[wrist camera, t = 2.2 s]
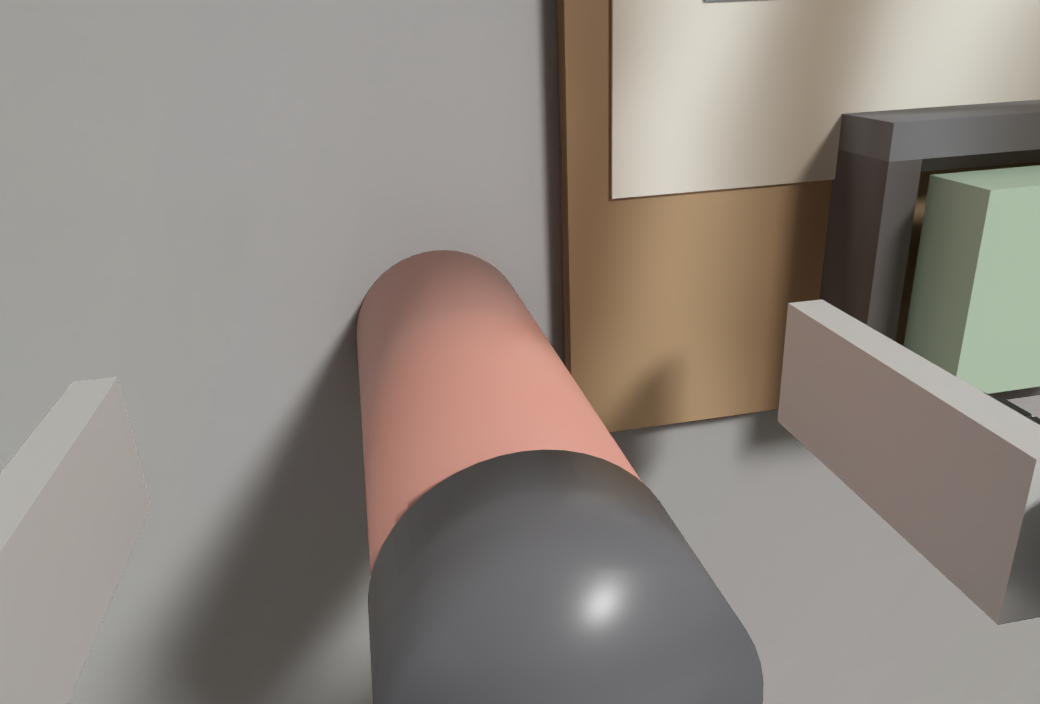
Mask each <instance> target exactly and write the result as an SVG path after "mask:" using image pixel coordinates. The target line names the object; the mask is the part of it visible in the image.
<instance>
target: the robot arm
mask: <svg viewBox="0 0 1040 704" xmlns="http://www.w3.org/2000/svg"><path fill="white" fill-rule="evenodd" d="M778 422H779V423H780V424H781V425H782V426H783V427H784V428H785V429H787V430H788V431H789V432H790V433H791V434H792V435H793V436H794V437H795V438H796V439H797V440H798V441H799V442H801V443H802V444H803V445H804V446H805V447H806V448H807V449H808V450H809V451H810V452H811V453H812V454H814V455H815V456H816V457H817V458H818V459H819V460H820V461H821V462H822V463H823V464H824V465H825V466H827V467H828V468H829V469H830V470H831V471H832V472H833V473H834V474H835V475H836V476H837V477H838V478H840V479H841V480H842V481H843V482H844V483H845V484H846V485H847V486H848V487H849V488H850V489H851V490H853V491H854V492H855V493H856V494H857V495H858V496H859V497H860V498H861V499H862V500H863V501H864V502H866V503H867V504H868V505H869V506H870V507H871V508H872V509H873V510H874V511H875V512H876V513H877V514H879V515H880V516H881V517H882V518H883V519H884V520H885V521H886V522H887V523H888V524H889V525H890V526H891V527H893V528H894V529H895V530H896V531H897V532H898V533H899V534H900V535H901V536H902V537H903V538H904V539H906V540H907V541H908V542H909V543H910V544H911V545H912V546H913V547H914V548H915V549H916V550H917V551H919V552H920V553H921V554H922V555H923V556H924V557H925V558H926V559H927V560H928V561H929V562H930V563H932V564H933V565H934V566H935V567H936V568H937V569H938V570H939V571H940V572H941V573H942V574H943V575H945V576H946V577H947V578H948V579H949V580H950V581H951V582H952V583H953V584H954V585H955V586H956V587H958V588H959V589H960V590H961V591H962V592H963V593H964V594H965V595H966V596H967V597H968V598H969V599H971V600H972V601H973V602H974V603H975V604H976V605H977V606H978V607H979V608H980V609H981V610H982V611H984V612H985V613H986V614H987V615H988V616H989V617H990V618H991V619H992V620H993V621H994V622H995V623H996V624H998V625H1000V624H1005V623H1010V622H1016V621H1021V620H1026V619H1032V618H1037V617H1040V419H1039V418H1037V417H1032V416H1031V414H1030V413H1029V412H1027V411H1025V410H1023V409H1021V408H1020V407H1018V406H1016V405H1014V404H1013V403H1011V402H1009V401H1007V400H1005V399H1002V398H999V397H996V396H993V395H990V394H987V393H984V392H982V391H980V390H978V389H976V388H975V387H973V386H971V385H970V384H968V383H966V382H964V381H963V380H961V379H959V378H957V377H956V376H954V375H952V374H950V373H949V372H947V371H945V370H944V369H942V368H940V367H938V366H937V365H935V364H933V363H931V362H930V361H928V360H926V359H924V358H923V357H921V356H919V355H918V354H916V353H914V352H912V351H911V350H909V349H907V348H905V347H904V346H902V345H900V344H898V343H897V342H895V341H893V340H892V339H890V338H888V337H886V336H885V335H883V334H881V333H879V332H878V331H876V330H874V329H872V328H871V327H869V326H867V325H866V324H864V323H862V322H860V321H859V320H857V319H855V318H853V317H852V316H850V315H848V314H846V313H845V312H843V311H841V310H840V309H838V308H836V307H834V306H833V305H831V304H829V303H827V302H826V301H824V300H822V299H821V300H812V301H803V302H794V303H788V310H787V321H786V332H785V343H784V354H783V365H782V376H781V387H780V398H779V409H778ZM150 508H151V502H150V499H149V495H148V491H147V487H146V483H145V479H144V475H143V471H142V467H141V464H140V460H139V456H138V452H137V448H136V444H135V440H134V436H133V433H132V429H131V425H130V421H129V417H128V413H127V409H126V405H125V401H124V398H123V394H122V390H121V386H120V382H119V378H118V377H111V378H102V379H93V380H84V381H74V382H72V384H71V385H70V386H69V387H68V389H67V390H66V391H65V392H64V394H63V395H62V396H61V397H60V399H59V400H58V401H57V403H56V404H55V405H54V406H53V408H52V409H51V410H50V411H49V413H48V414H47V415H46V416H45V418H44V419H43V420H42V421H41V423H40V424H39V425H38V427H37V428H36V429H35V430H34V432H33V433H32V434H31V435H30V437H29V438H28V439H27V440H26V442H25V443H24V444H23V446H22V447H21V448H20V449H19V451H18V452H17V453H16V454H15V456H14V457H13V458H12V459H11V461H10V462H9V463H8V464H7V466H6V467H5V468H4V470H3V471H2V472H1V473H0V704H68V702H69V700H70V698H71V695H72V693H73V691H74V688H75V686H76V683H77V681H78V679H79V676H80V674H81V672H82V669H83V667H84V664H85V662H86V660H87V657H88V655H89V653H90V650H91V648H92V645H93V643H94V641H95V638H96V636H97V634H98V631H99V629H100V626H101V624H102V622H103V619H104V617H105V615H106V612H107V610H108V607H109V605H110V603H111V600H112V598H113V596H114V593H115V591H116V588H117V586H118V584H119V581H120V579H121V577H122V574H123V572H124V569H125V567H126V565H127V562H128V560H129V558H130V555H131V553H132V550H133V548H134V546H135V543H136V541H137V539H138V536H139V534H140V531H141V529H142V527H143V524H144V522H145V520H146V517H147V515H148V512H149V510H150Z"/></svg>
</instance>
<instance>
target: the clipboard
mask: <svg viewBox="0 0 1040 704" xmlns="http://www.w3.org/2000/svg"><path fill="white" fill-rule="evenodd" d="M557 26H558V71H559V117H560V163H561V208H562V254H563V299H564V345H565V367H566V368H567V370H568V371H569V373H570V374H571V376H572V377H573V379H574V380H575V382H576V383H577V385H578V386H579V388H580V389H581V391H582V392H583V394H584V395H585V397H586V398H587V400H588V401H589V403H590V404H591V406H592V407H593V409H594V410H595V412H596V413H597V415H598V416H599V418H600V419H601V421H602V422H603V424H604V425H605V427H606V428H607V430H608V431H609V433H610V432H617V431H625V430H632V429H639V428H646V427H653V426H660V425H667V424H674V423H682V422H689V421H696V420H703V419H710V418H717V417H724V416H732V415H739V414H746V413H753V412H760V411H767V410H774V409H779V398H780V387H781V376H782V365H783V354H784V343H785V332H786V321H787V310H788V303H794V302H803V301H812V300H821V299H822V300H824V301H826V302H827V303H829V304H831V305H833V306H834V307H836V308H838V309H840V310H841V311H843V312H845V313H846V314H848V315H850V316H852V317H853V318H855V319H857V320H859V321H860V322H862V323H864V324H866V325H867V326H869V327H871V328H872V329H874V330H876V331H878V332H879V333H881V334H883V335H885V336H886V337H888V338H890V339H892V340H893V341H895V342H897V343H898V344H900V345H902V346H904V340H905V333H906V327H907V320H908V314H909V307H910V301H911V294H912V288H913V281H914V275H915V269H916V262H917V256H918V249H919V243H920V236H921V230H922V223H923V217H924V211H925V204H926V198H927V191H928V185H929V178H930V175H934V174H945V173H957V172H968V171H979V170H991V169H1002V168H1013V167H1025V166H1036V165H1040V0H557ZM990 395H993V396H996V397H999V398H1002V399H1005V400H1007V399H1014V398H1021V397H1028V396H1035V395H1040V386H1039V387H1032V388H1025V389H1018V390H1011V391H1004V392H997V393H990Z"/></svg>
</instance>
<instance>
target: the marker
mask: <svg viewBox="0 0 1040 704" xmlns="http://www.w3.org/2000/svg"><path fill="white" fill-rule="evenodd" d="M357 349H358V366H359V384H360V401H361V418H362V436H363V453H364V471H365V488H366V505H367V523H368V540H369V557H370V575H371V578H370V583H369V593H368V613H369V633H370V653H371V673H372V692H373V704H762V702H763V676H762V669H761V663H760V660H759V657H758V654H757V651H756V648H755V645H754V643H753V642H752V640H751V638H750V636H749V634H748V633H747V631H746V629H745V628H744V626H743V625H742V623H741V622H740V620H739V619H738V617H737V616H736V614H735V613H734V611H733V610H732V608H731V607H730V605H729V604H728V602H727V601H726V599H725V598H724V596H723V595H722V593H721V592H720V590H719V589H718V587H717V586H716V584H715V583H714V581H713V580H712V579H711V577H710V576H709V574H708V573H707V571H706V570H705V568H704V567H703V565H702V564H701V562H700V561H699V559H698V558H697V556H696V555H695V553H694V552H693V550H692V549H691V547H690V546H689V544H688V543H687V541H686V540H685V538H684V537H683V535H682V534H681V532H680V531H679V530H678V528H677V527H676V525H675V524H674V522H673V521H672V519H671V518H670V516H669V515H668V513H667V512H666V510H665V509H664V507H663V506H662V504H661V503H660V501H659V500H658V499H657V498H656V496H655V495H654V494H653V493H652V491H651V490H650V489H649V488H648V487H647V486H646V485H645V484H643V483H642V481H641V480H640V478H639V477H638V475H637V474H636V472H635V471H634V469H633V468H632V466H631V465H630V463H629V462H628V460H627V459H626V457H625V456H624V454H623V453H622V451H621V449H620V448H619V446H618V445H617V443H616V442H615V440H614V439H613V437H612V436H611V434H610V433H609V431H608V430H607V428H606V427H605V425H604V424H603V422H602V421H601V419H600V418H599V416H598V415H597V413H596V412H595V410H594V409H593V407H592V406H591V404H590V403H589V401H588V400H587V398H586V397H585V395H584V394H583V392H582V391H581V389H580V388H579V386H578V385H577V383H576V382H575V380H574V379H573V377H572V376H571V374H570V373H569V371H568V370H567V368H566V367H565V365H564V364H563V362H562V361H561V359H560V358H559V356H558V355H557V353H556V352H555V350H554V348H553V347H552V345H551V344H550V342H549V341H548V339H547V338H546V336H545V335H544V333H543V332H542V330H541V329H540V327H539V326H538V324H537V323H536V321H535V320H534V318H533V317H532V315H531V314H530V312H529V311H528V309H527V308H526V306H525V305H524V303H523V302H522V300H521V299H520V297H519V296H518V294H517V293H516V291H515V290H514V288H513V287H512V285H511V284H510V283H509V281H508V280H507V279H506V278H505V276H504V275H503V274H502V273H501V272H499V271H498V270H497V269H496V268H495V267H493V266H492V265H491V264H489V263H488V262H486V261H484V260H482V259H480V258H478V257H475V256H473V255H470V254H466V253H462V252H458V251H447V250H444V251H431V252H424V253H421V254H417V255H414V256H411V257H409V258H407V259H404V260H402V261H400V262H399V263H397V264H395V265H394V266H392V267H391V268H390V269H388V270H387V271H386V272H385V273H383V274H382V275H381V276H380V277H379V279H378V280H377V281H376V282H375V283H374V284H373V286H372V287H371V288H370V290H369V291H368V293H367V295H366V297H365V299H364V301H363V303H362V306H361V308H360V311H359V316H358V320H357Z"/></svg>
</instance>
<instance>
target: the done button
mask: <svg viewBox="0 0 1040 704" xmlns="http://www.w3.org/2000/svg"><path fill="white" fill-rule="evenodd" d="M904 347H905V348H907V349H909V350H911V351H912V352H914V353H916V354H918V355H919V356H921V357H923V358H924V359H926V360H928V361H930V362H931V363H933V364H935V365H937V366H938V367H940V368H942V369H944V370H945V371H947V372H949V373H950V374H952V375H954V376H956V377H957V378H959V379H961V380H963V381H964V382H966V383H968V384H970V385H971V386H973V387H975V388H976V389H978V390H980V391H982V392H984V393H987V394H990V393H997V392H1004V391H1011V390H1018V389H1025V388H1032V387H1039V386H1040V165H1036V166H1025V167H1013V168H1002V169H991V170H979V171H968V172H957V173H945V174H934V175H930V178H929V185H928V191H927V198H926V204H925V211H924V217H923V223H922V230H921V236H920V243H919V249H918V256H917V262H916V269H915V275H914V281H913V288H912V294H911V301H910V307H909V314H908V320H907V327H906V333H905V340H904Z"/></svg>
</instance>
